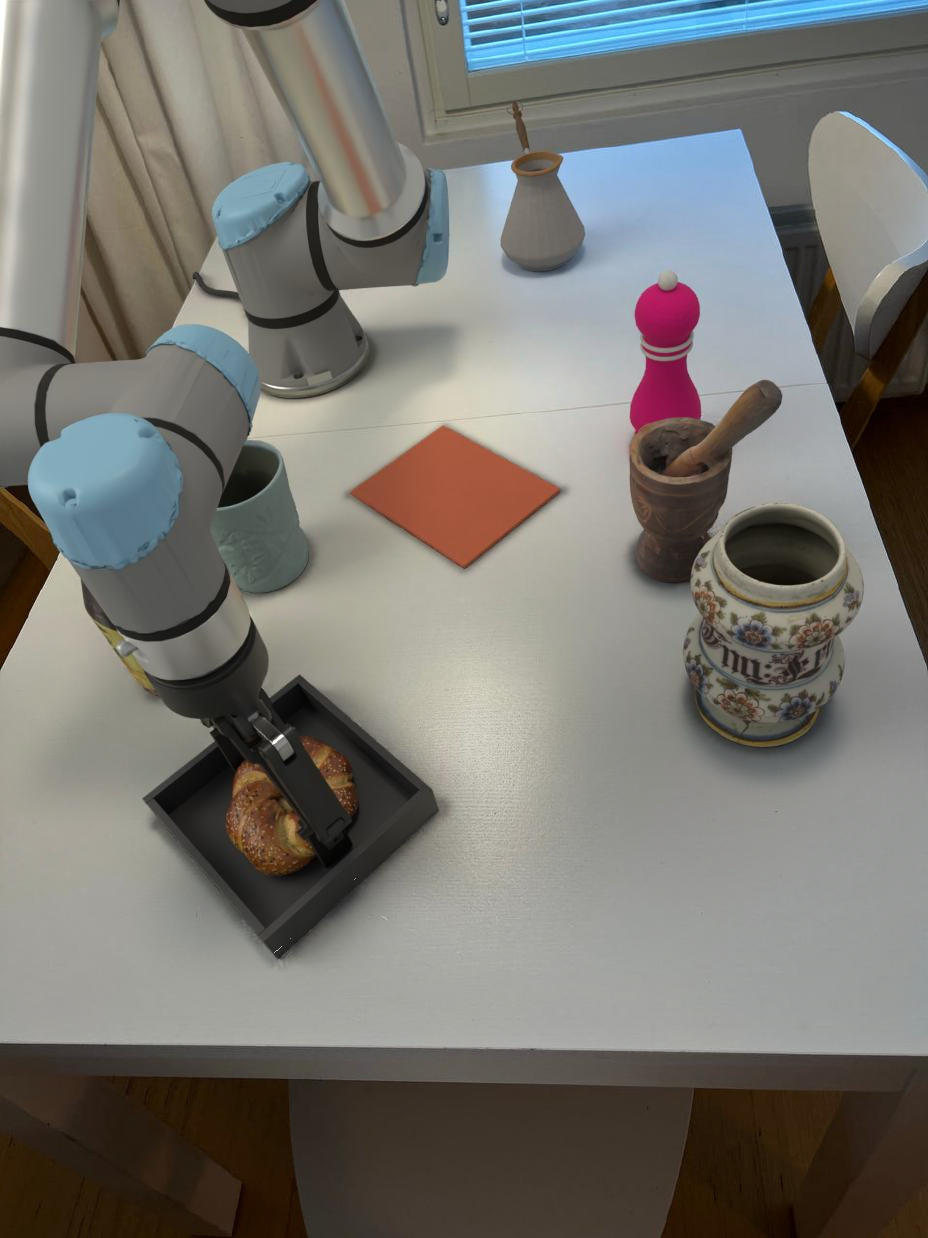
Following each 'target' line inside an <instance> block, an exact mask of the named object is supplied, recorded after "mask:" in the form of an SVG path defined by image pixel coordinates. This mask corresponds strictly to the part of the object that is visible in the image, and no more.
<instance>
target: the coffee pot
mask: <svg viewBox="0 0 928 1238" xmlns="http://www.w3.org/2000/svg"><path fill="white" fill-rule="evenodd" d="M519 105H520V106H521V109H520V106H519ZM510 107H511V109H512V111H513V112H510V111H509V108H510ZM523 109H524V105H523V103H522V102H518V101H516V100H513V101H511V104H509V105H508V106H507V108H506V112H507V113H508V114H509V115H512V117H513V120H515V128H516V129H515V131H516V133H517V136H518V139H519V142H520V145H521V149H522V151H523V153H524V154H522V155H519V156H518V157H516V158H515V159H514V160H512V162H511V165H510V169H511V171H512V172H513V174H515V177H516V180H517V182H516V185H515V188H514V192H513V195H512V198H511V202H510V205H509V209H508V212H507V215H506V219H505V222H504V225H503V229H502V232H501V236H500V239H499V240H500V241H499V242H500V248H501V249H502V251H503V252H504V255H505V256H506V257H507V258H508V259H509V260H510V261H512V262H513V263H514V264H516V265H518V266H519V267H520V268H522V269H523V270H527V271H532V272H545V271H551V270H554V269H558V268H560V267H562V266H564V265H566V264H567V263H568V262H570V260H571V259H572V258H573V257H574V256H575V255H576V254H577V252H578V251H579V250H580V249H581V248H582V245H583V243H584V240H585V238H586V230H585V229H586V228H585V226H584V224H583V222H582V220H581V218H580V216H579V215H578V212H577V211H576V208H575V207H574V205H573V202H572V200H571V199H570V197H569V195H568V193H567V191H566V189H565V188H564V186H563V183H562V181H561V179H560V178H559V176H558V174H559V170H560V167H561V166H562V163H563V161H564V156H563V155H561V154H558V153H556V152H553V151H549V150H536V151H530V150H531V149H530V143H529V137H528V133H527V127H526V124H525V122H524V120H523V119H522V117H523V113H522V111H523Z"/></svg>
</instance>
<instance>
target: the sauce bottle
mask: <svg viewBox="0 0 928 1238" xmlns="http://www.w3.org/2000/svg"><path fill="white" fill-rule="evenodd" d="M79 579H80V585H81V591H82V593H81V594H82V600H83V606H84V609H85V611H86V613H87V615H89V617H90V619H91V620H92V621H93V623H94V624H95V625H96V627H97V628H98V629H99V631H100V632H101V634H102V635H103V636H104V638H105V639H106V641H107V642H108V644H109V645H110V647H112V650H113V651H114V652H115V654H116V655H117V657H118V658H119V659H120V660H121V662H122V663H123V665H124V666H125V668H126V669H127V671H128V673H130V674H131V676H132V677H133V679H134V680H135V681H136V683H137V684H138V685H140V686H141V687H142V689H143V690H144V691H145V692H146V693H147V692H148V693H149V694H152V695H154V696H159V695H158V693H157V692H156V690H155V689H154V687H153V686H152V684H151V683H150V681H149V680H148V678H147V677H146V675H145V673H144V671H143V668H142V667H141V666H140V665H139V663H138V662H137V660H136V659H135V657H134V656H133V654H131V655H129V656H127V657H123V656H121V655H120V654H119V652H118V651H117V650H116V645H117V644H118V643H119V642H120V641H122V640H123V639H124V638H123V637H122V636H121V635H120V634H119V633H118V631H117V630H116V628H115V627H114V626H113V624H112V623H111V621H110V620H109V619H108V617H107V615H106V614H105V612H104V611H103V609H102V608H101V607H100V605H99V604H98V602H97V601H96V599H95V598H94V597H93V595H92V594H91V592H90V591H89V589H88V588H87V587H86V585H85V584H84V582H83V581H82V579H81V578H80V577H79Z"/></svg>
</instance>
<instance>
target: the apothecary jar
mask: <svg viewBox="0 0 928 1238" xmlns="http://www.w3.org/2000/svg"><path fill="white" fill-rule="evenodd" d="M863 577H864V576H863V574H862V570H861V568H860V565H859V563H858V561H857V559H856V557H855V556H854V555H853V553H852V552H851V551H850V550H849V548H848V547H847V546H846V542H845V540H844V537H843V536H842V534H841V532H840V531H839V529H838V528H837V526H836V524H835V525H834V523H833V522H832V521H831V520H829V519H828V518H827V517H826V516H825V515H824V514H821V513H820V512H818V511H817V510H814V509H812V508H809V507H806V506H803V505H799V504H794V503H788V502H787V503H785V502H770V503H764V504H758V505H755V506H752V507H749V508H745V509H744V510H742V511H739V512H738V513H736V514H735V515H733V516H732V517H731V518H730V519H729V520H728V521H727V522H726V523H725V524H724V526H723V527H722V529H721V530H720V531H719V532H718V533H716V534H714V535H713V536H712V537H711V539H710V540H709V541H708V542H707V543H706V544H705V545H704V546H703V548H702V549H701V550H700V552H699V553H698V555H697V557H696V559H695V561H694V564H693V567H692V572H691V580H690V593H691V596H692V600H693V602H694V605H695V607H696V609H697V611H698V612H699V613H698V614H697V616H696V617H695V618H694V619H693V621H692V622H691V624H690V625H689V627H688V629H687V631H686V634H685V637H684V640H683V646H682V647H683V648H682V659H683V664H684V668H685V671H686V674H687V676H688V678H689V680H690V682H691V683H692V685H693V687H694V699H695V704H696V705H695V706H696V708H697V711H698V712H699V715H701V718H702V719H703V720H704V722H705V723H706V724H707V725H708V726H709V727H710V728H711V729H712V730H714V732H716V733H718V734H719V735H721V736H722V737H723V738H725V739H727V740H729V741H732V742H734V743H737V744H740V745H743V746H748V747H755V748H771V747H777V746H781V745H785V744H789V743H792V742H794V741H795V740H797V739H798V738H801V737H802V736H803V735H805V734H806V733H807V732H808V731H809V730H810V729H811V728H812V726H813V725H814V723H815V722H816V720H817V718H818V715H819V712H820V708H822V707H823V706H824V705H825V704H826V703H828V701H829V700H830V699H831V698H832V697H833V696H834V695H835V693H836V691H837V690H838V688H839V686H840V684H841V682H842V680H843V677H844V671H845V665H846V664H845V661H846V660H845V659H846V658H845V651H844V646H843V642H842V640H841V637H840V636H839V635H840V634H842V633H843V632H844V631H845V630H846V629H847V628H848V627H849V626H850V625H851V623H852V622H853V621H855V618H856V617H857V615H858V614H859V611H860V609H861V607H862V604H863V599H864V592H865V591H864V590H865V586H864V585H865V584H864V578H863Z"/></svg>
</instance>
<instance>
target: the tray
mask: <svg viewBox="0 0 928 1238" xmlns="http://www.w3.org/2000/svg"><path fill="white" fill-rule="evenodd" d="M269 697H270V699H271V701H272V708H273V709H274V710H275V712H276V713H277V715H278V716H279V717H280V719H281V720H282V721H283V723H284V724H285V725H286V724H287V723H288V724H290V725H291V726H293V727H294V728H295V729H296V730H297V734H298V736H299V737H305V736H308V737H314V738H315V739H317V740H319V741H321V742H323V743H324V744H326V745H327V746H329V747H331V748H332V749H335V750H336V751H337V752H339V753H340V754H342V755H344V756H345V757H346V759H347V760H348V761H349V763H350V765H351V766H352V768H353V777H352V779H351V782H352V783H353V784H354V785H355V789H356V790H357V792H356V793H357V795H358V802H357V803H358V806H357V810H356V812H355V813H354V815H353V817H351V819H352V822H351V823H349V824H348V825H347V826H346V827H345V830H346V832H347V834H348V836H349V838H350V840H351V841H352V843H353V845H352V846H351V847H350V848H349V849H348V850H347V851H346V852H345V853H344V854H342V855H341V856H340V857H339V858H338V859H337V860H336V861H335V862H334V863H332V864H331V865H330V866H329V867H328V868H327V869H326V868H325V867H324V865H323V864H322V863H321V862H320V860H319V859H318V857H317V855H316V857H315V858H314V859H313V860H312V861H311V862H310V863H309V864H308V865H306V866H305V867H304V868H302V869H300V870H299V871H296V872H293V873H290V874H286V875H281V876H278V875H277V876H275V875H274V876H271V875H266V874H264V873H263V872H260V870H258V869H256V868H255V866H254V865H253V864H252V863H251V862H250V861H249V859H248V858H247V857H246V855H244V854H243V853H241V851H240V850H238V849H237V848H236V846H235V845H234V844H233V843H232V841H231V839H230V838H229V837H228V836H229V835H228V833H227V828H226V815H227V813H228V809H229V807H230V804H231V801H232V799H233V793H232V791H233V781H234V777H235V772H234V771H233V769H232V768H231V766H230V764H229V763H228V761H227V760H226V758H225V756H224V755H223V753H222V752H221V750H220V748H219V747H218V745H217V744H216V742H215V741H213V742H212V743H210V744H209V745H208V746H207V747H206V748H204V749H203V750H201V751H200V752H199V753H197V754H196V755H195V756H194V757H193V758H191V759H190V760H189V761H187V762H186V763H185V764H183V765H182V766H181V767H180V768H179V769H177V770H176V771H175V772H173V774H171V775H170V776H169V777H167V778H166V779H165V780H163V781H162V782H161V783H159V784H158V785H157V786H156V787H155V788H153V789H152V790H151V791H150V792H148V793H147V794H146V795H145V796H143V797H142V801H143V802H144V803H145V804H146V806H147V807H148V809H150V811H151V812H152V813H153V815H154V816H155V817H156V818H157V819H158V820H159V822H160V823H161V824H162V826H164V828H165V829H166V830H167V831H168V833H169V834H170V835H171V836H172V837H173V838H174V839H175V841H176V842H177V843H178V844H179V845H180V847H181V848H182V849H183V850H184V851H185V852H186V853H187V855H188V856H189V857H190V859H192V861H193V862H194V863H195V864H196V865H197V866H198V868H199V869H200V870H201V871H202V872H203V874H204V875H205V876H206V877H207V878H208V879H209V880H210V882H211V883H212V884H213V886H214V887H215V888H216V889H217V890H218V891H219V892H220V894H221V895H222V897H224V898H225V899H226V901H227V902H228V903H229V904H230V906H232V908H233V909H234V910H235V912H236V913H237V914H238V915H239V916H240V917H241V919H243V920H244V921H245V923H246V924H247V925H248V926H249V928H250V929H251V930H252V931H253V932H254V934H255V935H256V936H257V937H258V936H259V937H258V938H259V939H260V941H261V942H262V943H263V944H264V946H266V947H267V949H268V950H269V951H270V952H271V953H272V955H273V956H274V957H275V958H276V959H277V960H279V959H280V958H281V957H282V956H283V955H284V954H285V953H286V952H287V951H288V950H289V949H290V948H291V947H292V946H294V945H295V944H296V943H297V942H298V941H299V940H300V939H301V938H302V937H304V935H306V934H307V933H308V932H309V931H310V930H311V929H312V928H313V927H314V926H315V925H316V924H318V922H320V921H321V920H322V919H323V918H324V917H325V916H326V915H327V914H328V913H329V912H330V911H331V910H333V908H335V907H336V906H337V905H338V904H340V902H342V900H344V898H345V897H347V896H348V895H349V894H350V893H351V892H352V891H353V890H354V889H355V888H357V887H358V885H359V884H361V883H362V882H363V881H364V880H365V879H366V878H367V877H369V876H370V875H371V873H373V872H374V871H375V870H376V869H377V868H378V867H379V866H380V865H381V864H382V863H384V862H385V861H386V860H387V859H388V858H389V857H390V856H391V855H392V854H393V853H394V852H395V851H396V850H397V849H398V848H400V847H401V846H402V845H403V844H404V843H405V842H406V841H408V839H410V838H411V836H413V835H414V834H415V833H416V832H417V831H418V830H419V829H420V828H421V827H423V825H425V824H426V822H428V821H430V819H431V818H432V817H433V816H434V815H436V813H438V811H439V810H440V809H439V806H438V803H437V801H436V797H435V794H434V791H433V789H432V787H431V786H429V785H428V784H427V783H426V782H425V781H423V779H422V778H420V777H419V776H418V775H417V774H416V773H415V772H413V771H412V770H411V769H410V768H408V767H407V766H406V765H405V764H404V763H403V762H401V761H400V760H399V759H398V758H397V757H396V756H395V755H393V754H392V752H390V751H389V750H387V748H386V747H384V746H383V745H382V744H381V743H380V742H379V741H377V739H375V738H374V737H373V736H371V735H370V734H369V732H367V731H366V730H365V729H363V727H361V726H360V725H359V724H358V723H357V722H356V721H354V720H353V719H352V718H351V717H350V716H349V715H347V714H346V713H345V712H344V711H343V710H342V709H341V708H339V707H338V706H337V705H336V704H335V703H333V702H332V700H330V699H329V698H328V697H327V696H326V695H324V694H323V693H322V692H321V691H320V690H319V689H318V688H316V687H315V686H314V685H313V684H311V683H310V682H309V681H308V680H307V679H306V678H305V677H303V675H301V674H298V675H297V676H296V677H294V678H293V679H292V680H290V681H289V682H288V683H287V684H285V685H283V687H281V688H280V689H279V690H277V691H276V692H275V693H274V694H273V695H271V696H269ZM255 740H256V742H257V743H259V742H260V741H261V740H262V738H261V737H260V736H258V737H256V738H255ZM355 878H356V879H355ZM354 879H355V880H354ZM290 938H291V939H290ZM281 946H282V947H281ZM280 947H281V948H280ZM279 948H280V949H279ZM278 949H279V950H278ZM276 950H278V951H276ZM275 951H276V952H275ZM274 952H275V953H274ZM273 953H274V954H273Z"/></svg>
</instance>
